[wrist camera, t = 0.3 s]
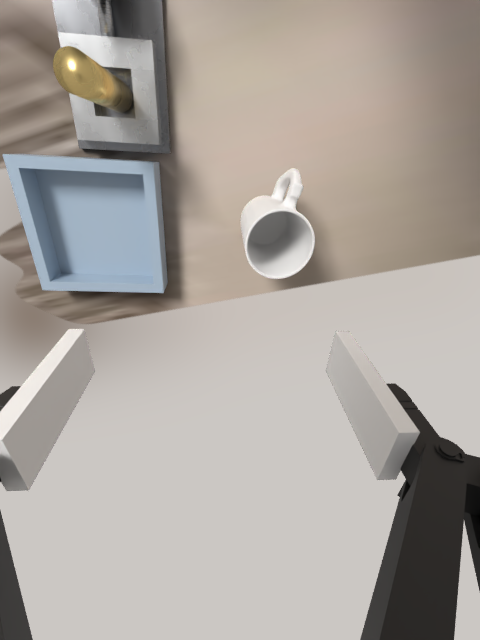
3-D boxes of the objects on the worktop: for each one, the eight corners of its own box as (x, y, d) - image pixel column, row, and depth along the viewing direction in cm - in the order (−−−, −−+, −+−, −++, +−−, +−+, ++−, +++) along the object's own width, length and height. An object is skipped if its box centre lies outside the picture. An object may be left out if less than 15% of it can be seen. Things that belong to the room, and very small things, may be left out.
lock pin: (102, 78, 30) (48, 44, 21) (130, 80, 31) (90, 48, 21) (107, 111, 32) (58, 93, 22) (134, 113, 32) (97, 96, 22)
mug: (278, 252, 41) (298, 286, 31) (231, 238, 40) (236, 269, 29) (307, 175, 37) (342, 184, 26) (256, 156, 35) (271, 158, 25)
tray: (22, 153, 34) (2, 154, 31) (159, 161, 35) (153, 162, 32) (56, 279, 41) (42, 290, 38) (167, 282, 42) (163, 292, 39)
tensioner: (39, -81, 25) (-34, -176, 18) (158, -67, 26) (134, -153, 19) (81, 148, 34) (42, 147, 26) (170, 153, 35) (157, 153, 27)
